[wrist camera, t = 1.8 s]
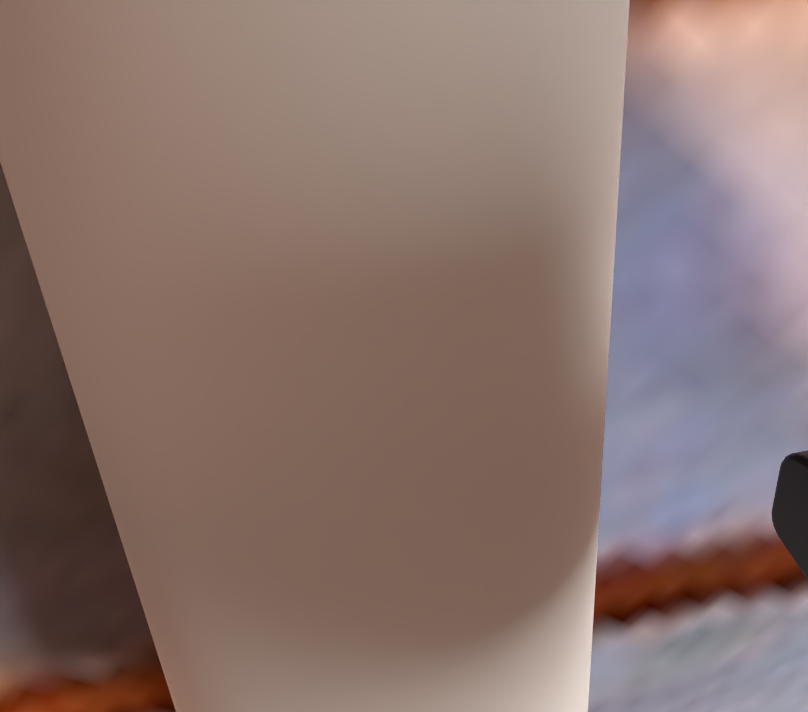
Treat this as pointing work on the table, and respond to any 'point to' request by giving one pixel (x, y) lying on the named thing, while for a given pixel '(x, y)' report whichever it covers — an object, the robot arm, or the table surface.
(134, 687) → the table surface
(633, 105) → the table surface
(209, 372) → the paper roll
